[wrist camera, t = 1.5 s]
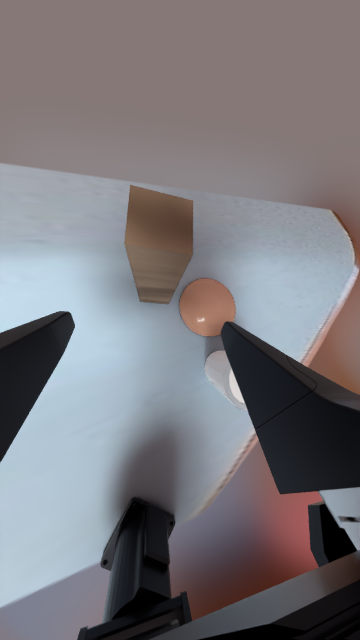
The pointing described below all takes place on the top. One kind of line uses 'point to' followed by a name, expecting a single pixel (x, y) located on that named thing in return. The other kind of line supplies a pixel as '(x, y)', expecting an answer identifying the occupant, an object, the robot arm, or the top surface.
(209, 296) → the orange flat disc
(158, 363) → the top surface
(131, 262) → the walnut block
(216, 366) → the white short cylinder
